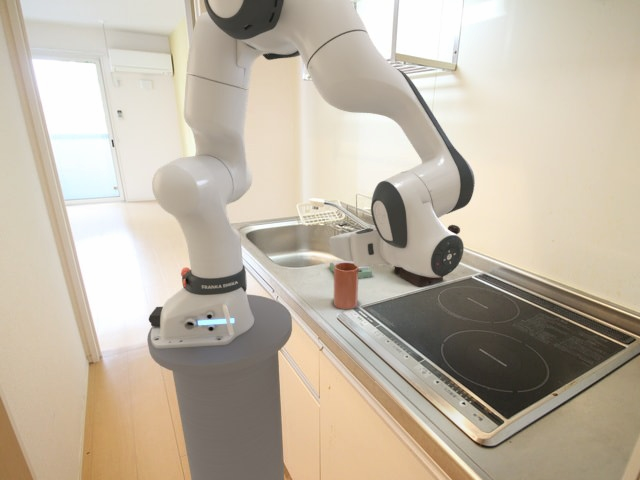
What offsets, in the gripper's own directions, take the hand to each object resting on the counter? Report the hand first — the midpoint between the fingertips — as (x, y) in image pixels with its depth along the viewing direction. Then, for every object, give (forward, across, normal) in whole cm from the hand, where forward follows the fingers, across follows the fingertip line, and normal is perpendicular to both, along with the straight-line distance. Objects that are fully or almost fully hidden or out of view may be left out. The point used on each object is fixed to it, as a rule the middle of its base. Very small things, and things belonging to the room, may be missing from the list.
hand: (359, 232), depth 83 cm
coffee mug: (+25, -29, +23) cm, 45 cm away
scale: (+32, -11, +20) cm, 40 cm away
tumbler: (+13, 0, +22) cm, 25 cm away
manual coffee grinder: (+19, -32, +25) cm, 45 cm away
